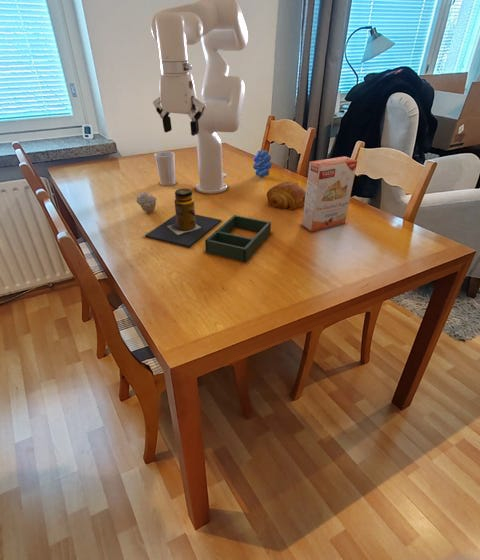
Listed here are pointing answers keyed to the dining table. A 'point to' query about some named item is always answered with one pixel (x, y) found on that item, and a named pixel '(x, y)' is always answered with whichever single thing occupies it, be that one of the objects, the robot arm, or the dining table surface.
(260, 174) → the grapes
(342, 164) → the cracker box
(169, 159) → the cup
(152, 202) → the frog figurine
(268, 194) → the croissant
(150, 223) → the dining table surface
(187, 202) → the condiment
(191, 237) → the mat
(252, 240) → the caddy
